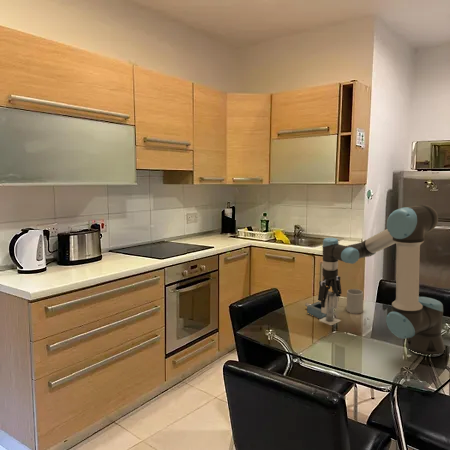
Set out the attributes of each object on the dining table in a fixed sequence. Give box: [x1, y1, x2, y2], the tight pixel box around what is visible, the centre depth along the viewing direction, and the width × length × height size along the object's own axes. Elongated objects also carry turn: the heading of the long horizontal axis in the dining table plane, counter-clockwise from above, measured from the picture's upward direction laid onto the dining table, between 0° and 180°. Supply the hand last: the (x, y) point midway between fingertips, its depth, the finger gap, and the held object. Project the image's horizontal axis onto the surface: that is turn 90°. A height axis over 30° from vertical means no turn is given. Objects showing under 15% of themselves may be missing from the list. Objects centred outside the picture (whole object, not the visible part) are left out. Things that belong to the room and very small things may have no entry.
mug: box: [345, 288, 364, 315], centre depth 223 cm, size 12×8×11 cm
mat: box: [318, 317, 342, 326], centre depth 211 cm, size 8×8×1 cm
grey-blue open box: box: [304, 301, 326, 320], centre depth 222 cm, size 14×10×4 cm, turn 37°
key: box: [326, 290, 336, 322], centre depth 210 cm, size 4×6×15 cm, turn 37°
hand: (329, 310), depth 210 cm, fingers open, 8 cm apart
